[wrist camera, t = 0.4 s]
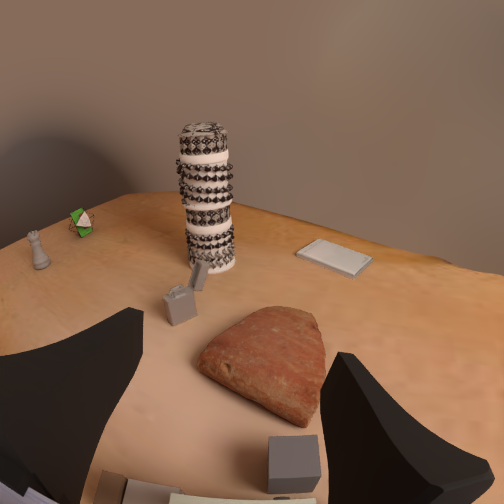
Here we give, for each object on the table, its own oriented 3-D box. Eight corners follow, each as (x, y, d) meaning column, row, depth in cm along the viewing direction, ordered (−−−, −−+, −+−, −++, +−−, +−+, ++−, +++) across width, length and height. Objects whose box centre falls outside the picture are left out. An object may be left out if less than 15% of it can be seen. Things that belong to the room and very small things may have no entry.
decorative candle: (178, 262, 57) (162, 127, 46) (215, 245, 63) (207, 120, 51) (207, 281, 52) (194, 127, 40) (247, 261, 57) (243, 121, 45)
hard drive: (373, 256, 56) (319, 237, 63) (354, 274, 50) (296, 251, 58) (372, 264, 56) (319, 244, 64) (353, 282, 51) (296, 258, 59)
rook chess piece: (54, 262, 58) (44, 229, 54) (40, 272, 55) (29, 238, 51) (44, 259, 60) (35, 227, 56) (31, 268, 56) (20, 236, 52)
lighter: (173, 326, 42) (162, 279, 38) (167, 320, 43) (157, 273, 39) (214, 307, 46) (209, 260, 42) (208, 302, 47) (203, 256, 43)
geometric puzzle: (61, 229, 69) (66, 207, 64) (79, 219, 74) (85, 197, 70) (78, 247, 69) (83, 226, 65) (96, 235, 75) (102, 214, 70)
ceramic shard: (369, 320, 34) (307, 424, 25) (356, 349, 38) (298, 441, 29) (266, 271, 41) (188, 349, 32) (265, 303, 45) (196, 376, 36)
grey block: (312, 492, 21) (321, 475, 18) (267, 494, 21) (268, 478, 19) (309, 456, 24) (317, 434, 22) (267, 458, 24) (269, 436, 22)
